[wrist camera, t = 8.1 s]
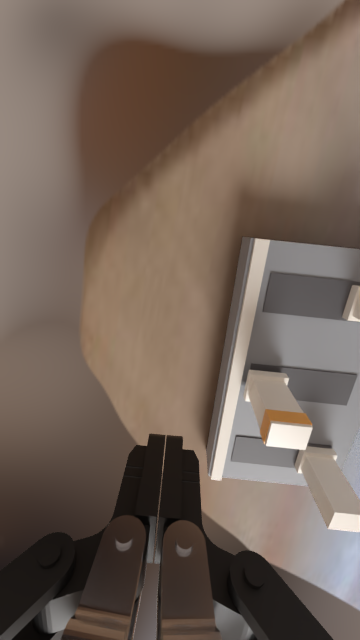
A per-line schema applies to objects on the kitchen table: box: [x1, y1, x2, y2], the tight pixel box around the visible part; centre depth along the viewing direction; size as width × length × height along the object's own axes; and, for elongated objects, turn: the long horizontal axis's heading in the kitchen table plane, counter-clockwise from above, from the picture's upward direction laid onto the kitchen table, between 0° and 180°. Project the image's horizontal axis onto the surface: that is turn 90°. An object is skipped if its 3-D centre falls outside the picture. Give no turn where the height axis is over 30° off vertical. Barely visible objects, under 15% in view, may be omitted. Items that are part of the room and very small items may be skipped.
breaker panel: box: [206, 237, 360, 532], centre depth 17 cm, size 18×10×7 cm, turn 174°
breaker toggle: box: [243, 370, 313, 450], centre depth 15 cm, size 2×2×5 cm
